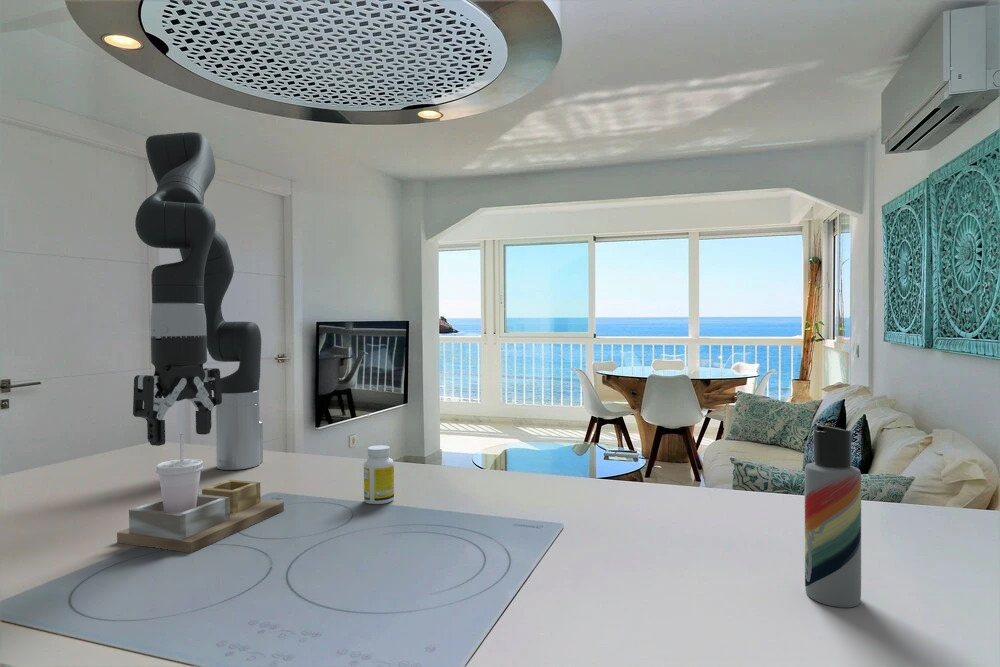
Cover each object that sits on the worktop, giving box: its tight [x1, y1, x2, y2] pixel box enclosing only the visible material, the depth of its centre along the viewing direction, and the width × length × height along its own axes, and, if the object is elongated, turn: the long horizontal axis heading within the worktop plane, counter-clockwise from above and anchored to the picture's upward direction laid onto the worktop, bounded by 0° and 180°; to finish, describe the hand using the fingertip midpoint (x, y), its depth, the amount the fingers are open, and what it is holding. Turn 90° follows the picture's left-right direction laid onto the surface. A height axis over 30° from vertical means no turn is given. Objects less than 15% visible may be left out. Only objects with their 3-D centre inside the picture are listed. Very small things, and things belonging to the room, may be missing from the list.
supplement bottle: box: [363, 444, 395, 505], centre depth 108 cm, size 5×5×10 cm
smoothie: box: [155, 433, 204, 513], centre depth 91 cm, size 6×6×14 cm
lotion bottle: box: [804, 424, 862, 608], centre depth 69 cm, size 6×6×20 cm
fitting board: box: [116, 479, 285, 554], centre depth 95 cm, size 20×14×5 cm
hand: (181, 439), depth 91 cm, fingers open, 8 cm apart
